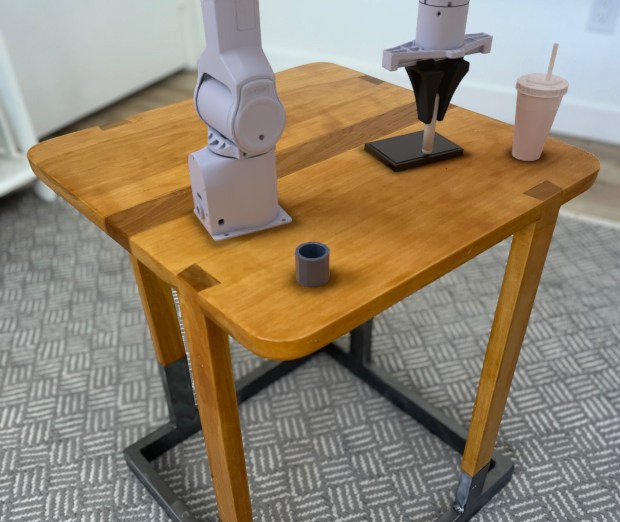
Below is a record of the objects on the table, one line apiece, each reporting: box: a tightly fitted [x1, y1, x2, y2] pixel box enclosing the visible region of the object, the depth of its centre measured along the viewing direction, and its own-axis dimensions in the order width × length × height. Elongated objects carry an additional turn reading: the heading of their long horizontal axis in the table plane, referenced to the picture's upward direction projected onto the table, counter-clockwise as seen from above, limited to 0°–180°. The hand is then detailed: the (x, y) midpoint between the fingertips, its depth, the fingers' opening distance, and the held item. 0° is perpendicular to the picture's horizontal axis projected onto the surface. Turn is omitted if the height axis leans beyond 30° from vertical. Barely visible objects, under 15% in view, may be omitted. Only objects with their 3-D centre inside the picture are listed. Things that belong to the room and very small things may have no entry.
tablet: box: [363, 129, 465, 173], centre depth 85 cm, size 11×8×1 cm
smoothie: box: [511, 42, 570, 162], centre depth 79 cm, size 6×6×14 cm
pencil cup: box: [294, 241, 331, 288], centre depth 62 cm, size 3×3×4 cm
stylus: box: [422, 93, 439, 154], centre depth 80 cm, size 1×1×8 cm
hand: (430, 120), depth 80 cm, fingers closed on stylus, 1 cm apart
